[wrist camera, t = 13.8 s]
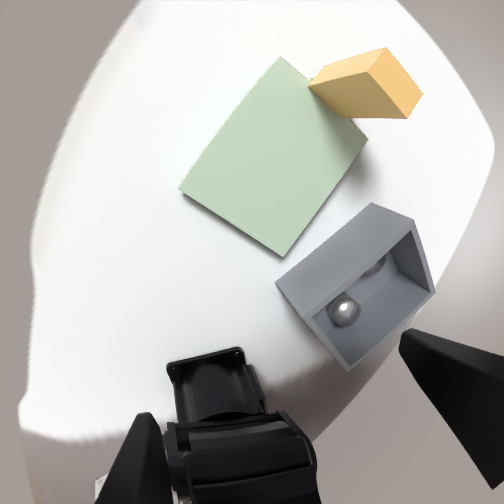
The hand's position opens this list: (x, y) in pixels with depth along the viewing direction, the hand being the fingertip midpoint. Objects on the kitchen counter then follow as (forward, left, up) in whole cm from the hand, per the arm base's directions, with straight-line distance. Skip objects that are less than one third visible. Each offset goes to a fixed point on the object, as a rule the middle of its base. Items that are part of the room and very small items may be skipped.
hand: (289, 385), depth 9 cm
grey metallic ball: (+9, -7, -12) cm, 17 cm away
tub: (+10, -5, -13) cm, 17 cm away
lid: (+5, +6, -13) cm, 15 cm away
